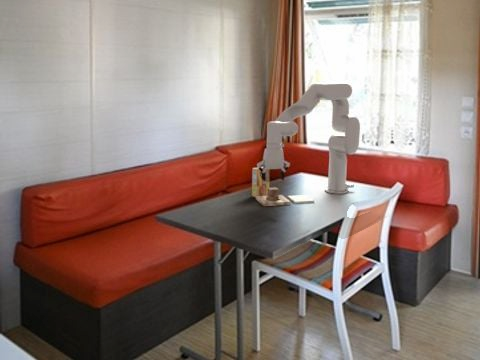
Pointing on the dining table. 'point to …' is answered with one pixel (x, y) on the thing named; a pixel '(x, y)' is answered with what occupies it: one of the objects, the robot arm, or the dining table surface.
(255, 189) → the candy box
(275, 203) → the pocket plate
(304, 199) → the board
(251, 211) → the dining table surface
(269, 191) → the walnut block
